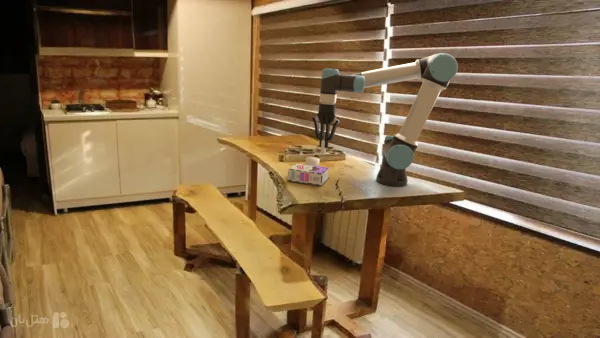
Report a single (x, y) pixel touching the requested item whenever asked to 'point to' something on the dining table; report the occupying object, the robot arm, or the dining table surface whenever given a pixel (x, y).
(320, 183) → the candy box
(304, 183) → the mat
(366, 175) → the dining table surface
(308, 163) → the cream capsule shape
